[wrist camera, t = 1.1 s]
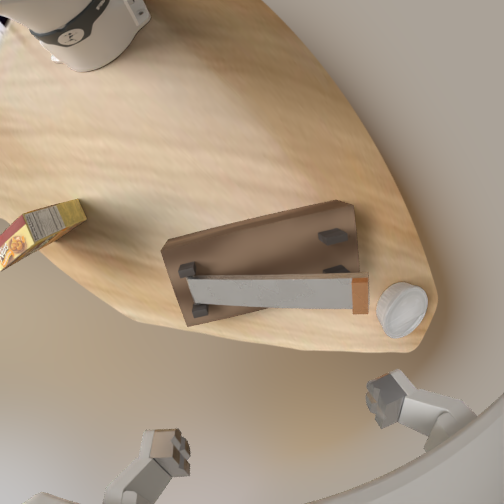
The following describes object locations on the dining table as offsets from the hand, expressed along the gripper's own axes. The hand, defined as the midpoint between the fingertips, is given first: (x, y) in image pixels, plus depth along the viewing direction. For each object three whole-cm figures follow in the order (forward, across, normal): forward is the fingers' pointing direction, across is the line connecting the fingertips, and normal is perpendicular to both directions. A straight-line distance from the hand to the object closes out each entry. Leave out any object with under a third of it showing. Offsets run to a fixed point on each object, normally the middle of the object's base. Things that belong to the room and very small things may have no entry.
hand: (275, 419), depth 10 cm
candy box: (+33, +27, -10) cm, 44 cm away
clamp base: (+34, -4, +4) cm, 34 cm away
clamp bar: (+21, -3, +4) cm, 22 cm away
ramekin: (+34, -28, +21) cm, 49 cm away
